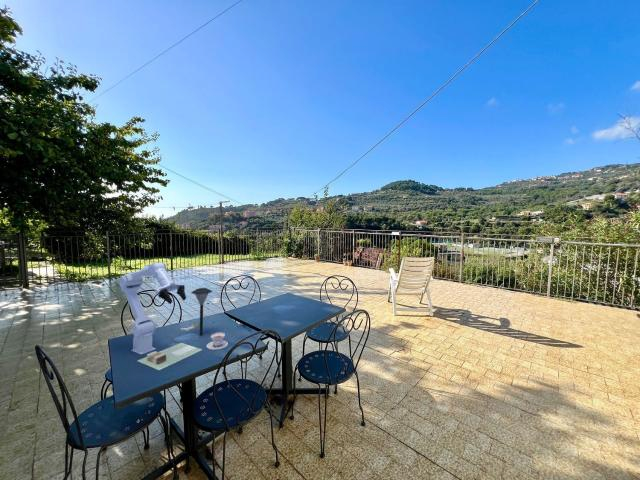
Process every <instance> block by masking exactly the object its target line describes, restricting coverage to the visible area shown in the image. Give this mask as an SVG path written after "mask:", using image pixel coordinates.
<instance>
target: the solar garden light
mask: <svg viewBox="0 0 640 480" xmlns="http://www.w3.org/2000/svg"><path fill="white" fill-rule="evenodd" d="M212 292H213V291H212V290H211V289H210V288H209V289H208V288H207V287H198V288H196V289H194V290H193V291H191V294H193V295H195V297H196V299H197V301H198V303H199V307H200V308H199V323H200V326H199V336H200V337H202V336H203V334H204V333H203V331H204V329H203V327H204V304H205V302H206V300H207V297H208V295H209V294H210V293H212Z"/></svg>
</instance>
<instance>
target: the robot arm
mask: <svg viewBox="0 0 640 480" xmlns="http://www.w3.org/2000/svg"><path fill="white" fill-rule="evenodd" d="M152 276H153V277H154V278H155V279H156V280H157V282H158V283H159V285H160V286H161V287H159V288H156V289H155V290H154V293H155V294H156V295H157V297H158V298H159V299H162V300H163V301H165V302H166V303H168V304H169V305H170V304H172V302H173V299H172V297H171V295H170V294H169V292H172V291H175V290H177V291H176V292H175V293H176V294H177V295H178V296H179V297H180V298H181V299H182V301H186V300H187V296H186V289H185V287H186V286H185V284H184V283H175V281H173V279H172V278H171V276H170V275H169V273H168V271H167V265H166V263H164V262H156V263H155V262H153V263H151V264H146V265H145V266H144V267H142V269H141V270H137V271H132V272H130V273H126V274H124V275H121V277H120V278H119V280H118V285H119V287H120V289H121V291H122V293H123V294H125V297H126V300H127V302H128V305H129V307H130V309H131V312H132V315H133V317H134V319H135V320H134V321H133V323H132V325H131V328H132V334H133V339H132V349H131V350H130V351H131V352H133V353H136V354H139V355H143V354H144V355H145V354H146V353H147V354H148V353H149V352H153V351H154V350H156V349H157V348H155V347H153V334H154V332H155V331H156V329H157V323H156V322H155V321H154V319H153V317H150V316H148V315H147V314H146V311H145V310H144V307H143V305H142V302H141V300H140V297H139V295H138V291H140V289H141V286H142V284H143V281H144V277H152Z"/></svg>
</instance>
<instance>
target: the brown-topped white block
mask: <svg viewBox="0 0 640 480" xmlns="http://www.w3.org/2000/svg"><path fill="white" fill-rule="evenodd" d="M159 352H160V351H156V350H155V351H154V350H153V351H151V352H150V353H149V352H148V353H147V354H146V357H147V361H150V362H152V363H155V364H157V365H158V364H160V363H163V362H165V361H166V355H164V354H162V353H159Z"/></svg>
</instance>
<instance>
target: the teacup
mask: <svg viewBox="0 0 640 480" xmlns="http://www.w3.org/2000/svg"><path fill="white" fill-rule="evenodd" d="M225 336H226V334H225V332H215V333H212V334H211V335H210V339H211V340H212V341H210V342H208V343H207V344H206V345H205V346H206V348H207V349H209V350H214V351H215V350H221V349H224V348H226V347H227V346H228V345H229V343H228V341H226V340H224V338H225Z"/></svg>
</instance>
